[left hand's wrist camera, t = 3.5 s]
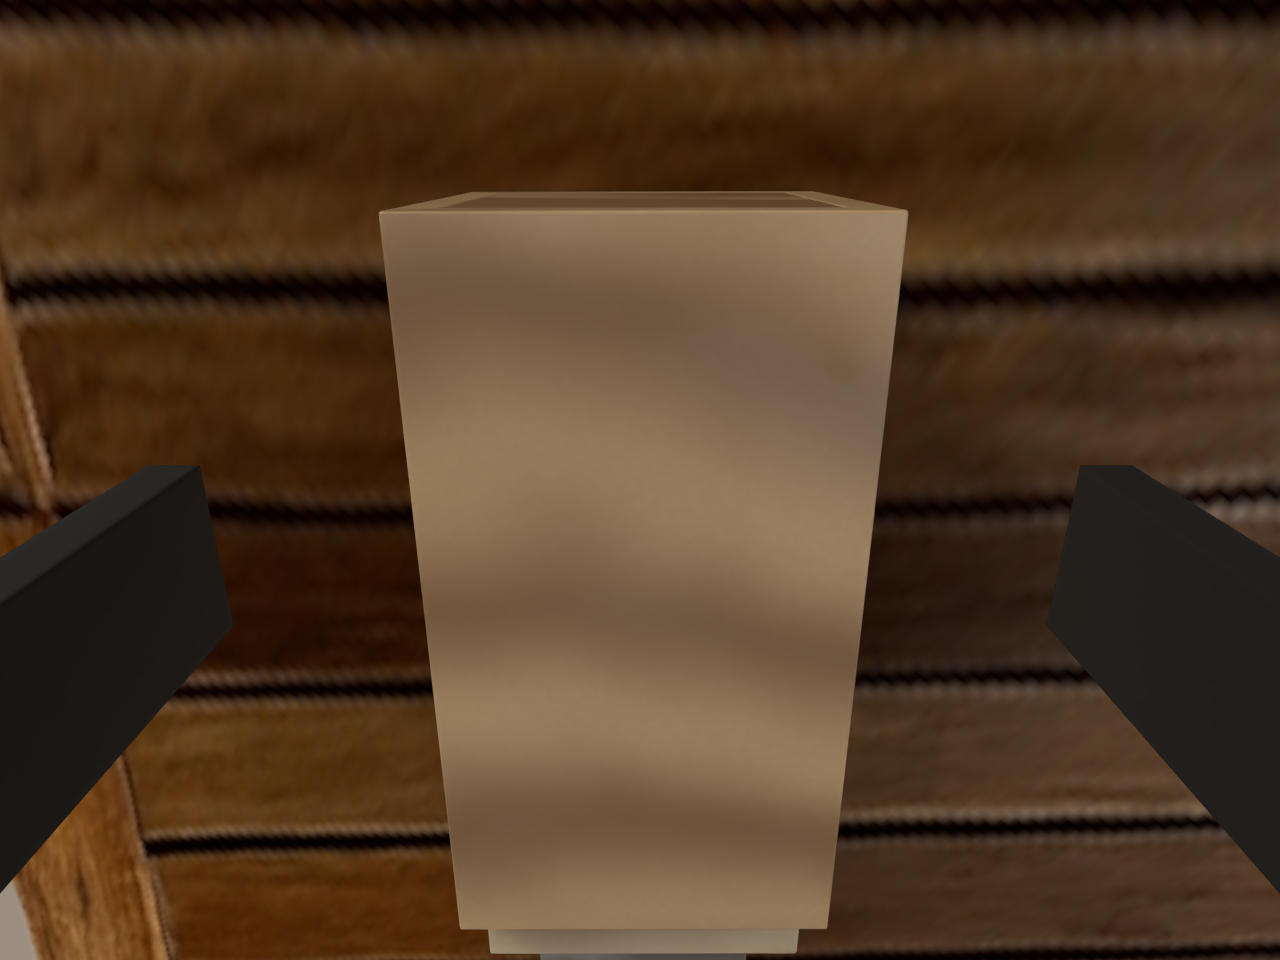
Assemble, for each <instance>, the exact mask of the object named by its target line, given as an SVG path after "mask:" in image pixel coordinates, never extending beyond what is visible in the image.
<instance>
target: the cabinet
mask: <svg viewBox="0 0 1280 960" xmlns="http://www.w3.org/2000/svg"><path fill="white" fill-rule="evenodd" d="M379 220H380V229H381V238H382V247H383V256H384V264H385V273H386V282H387V291H388V299H389V308H390V317H391V326H392V335H393V343H394V352H395V361H396V370H397V378H398V387H399V396H400V405H401V413H402V422H403V431H404V440H405V449H406V457H407V466H408V475H409V484H410V492H411V501H412V510H413V519H414V528H415V536H416V545H417V554H418V563H419V571H420V580H421V589H422V598H423V606H424V615H425V624H426V633H427V642H428V650H429V659H430V668H431V677H432V685H433V694H434V703H435V712H436V721H437V729H438V738H439V747H440V756H441V764H442V773H443V782H444V791H445V799H446V808H447V817H448V826H449V835H450V843H451V852H452V861H453V870H454V878H455V887H456V896H457V905H458V914H459V922H460V928H461V929H827V925H828V916H829V907H830V898H831V890H832V881H833V872H834V863H835V854H836V846H837V837H838V828H839V819H840V810H841V802H842V793H843V784H844V775H845V766H846V758H847V749H848V740H849V731H850V722H851V714H852V705H853V696H854V687H855V678H856V670H857V661H858V652H859V643H860V634H861V626H862V617H863V608H864V599H865V591H866V582H867V573H868V564H869V555H870V547H871V538H872V529H873V520H874V511H875V503H876V494H877V485H878V476H879V467H880V459H881V450H882V441H883V432H884V423H885V415H886V406H887V397H888V388H889V379H890V371H891V362H892V353H893V344H894V335H895V327H896V318H897V309H898V300H899V291H900V283H901V274H902V265H903V256H904V247H905V239H906V230H907V221H908V211H907V210H904V209H899V208H894V207H888V206H883V205H878V204H873V203H868V202H863V201H858V200H853V199H848V198H843V197H838V196H833V195H828V194H823V193H818V192H813V191H715V192H470V193H466V194H461V195H456V196H451V197H446V198H442V199H437V200H432V201H427V202H423V203H418V204H413V205H408V206H403V207H399V208H393V209H388V210H383V211H380V212H379Z"/></svg>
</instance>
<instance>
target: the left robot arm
mask: <svg viewBox="0 0 1280 960" xmlns="http://www.w3.org/2000/svg"><path fill="white" fill-rule="evenodd" d="M232 626H233V622H232V617H231V613H230V608H229V603H228V598H227V594H226V589H225V584H224V579H223V575H222V570H221V565H220V561H219V556H218V551H217V546H216V542H215V537H214V532H213V527H212V523H211V518H210V513H209V509H208V504H207V499H206V494H205V490H204V485H203V480H202V475H201V471H200V466H199V465H148V466H146V467H145V468H143V469H141V470H140V471H138V472H137V473H135V474H133V475H132V476H130V477H129V478H127V479H125V480H124V481H122V482H121V483H119V484H117V485H116V486H114V487H113V488H111V489H109V490H108V491H106V492H105V493H103V494H101V495H100V496H98V497H97V498H95V499H93V500H92V501H90V502H89V503H87V504H85V505H84V506H82V507H81V508H79V509H77V510H76V511H74V512H73V513H71V514H69V515H68V516H66V517H65V518H63V519H61V520H60V521H58V522H57V523H55V524H53V525H52V526H50V527H49V528H47V529H45V530H44V531H42V532H41V533H39V534H37V535H36V536H34V537H33V538H31V539H29V540H28V541H26V542H25V543H23V544H21V545H20V546H18V547H17V548H15V549H13V550H12V551H10V552H9V553H7V554H5V555H4V556H2V557H1V558H0V893H1V892H2V891H3V890H4V888H5V887H6V886H7V885H8V884H9V883H10V882H11V880H12V879H13V878H14V877H15V876H16V875H17V873H18V872H19V871H20V870H21V869H22V868H23V867H24V865H25V864H26V863H27V862H28V861H29V860H30V859H31V857H32V856H33V855H34V854H35V853H36V852H37V850H38V849H39V848H40V847H41V846H42V845H43V844H44V842H45V841H46V840H47V839H48V838H49V837H50V836H51V834H52V833H53V832H54V831H55V830H56V829H57V828H58V826H59V825H60V824H61V823H62V822H63V821H64V819H65V818H66V817H67V816H68V815H69V814H70V813H71V811H72V810H73V809H74V808H75V807H76V806H77V805H78V803H79V802H80V801H81V800H82V799H83V798H84V796H85V795H86V794H87V793H88V792H89V791H90V790H91V788H92V787H93V786H94V785H95V784H96V783H97V782H98V780H99V779H100V778H101V777H102V776H103V775H104V773H105V772H106V771H107V770H108V769H109V768H110V767H111V765H112V764H113V763H114V762H115V761H116V760H117V759H118V757H119V756H120V755H121V754H122V753H123V752H124V751H125V749H126V748H127V747H128V746H129V745H130V744H131V742H132V741H133V740H134V739H135V738H136V737H137V736H138V734H139V733H140V732H141V731H142V730H143V729H144V728H145V726H146V725H147V724H148V723H149V722H150V721H151V719H152V718H153V717H154V716H155V715H156V714H157V713H158V711H159V710H160V709H161V708H162V707H163V706H164V705H165V703H166V702H167V701H168V700H169V699H170V698H171V697H172V695H173V694H174V693H175V692H176V691H177V690H178V688H179V687H180V686H181V685H182V684H183V683H184V682H185V680H186V679H187V678H188V677H189V676H190V675H191V674H192V672H193V671H194V670H195V669H196V668H197V667H198V665H199V664H200V663H201V662H202V661H203V660H204V659H205V657H206V656H207V655H208V654H209V653H210V652H211V651H212V649H213V648H214V647H215V646H216V645H217V644H218V642H219V641H220V640H221V639H222V638H223V637H224V636H225V634H226V633H227V632H228V631H229V630H230V629H231V628H232ZM1047 626H1048V628H1049V629H1050V630H1051V631H1052V632H1053V633H1054V634H1055V636H1056V637H1057V638H1058V639H1059V640H1060V641H1061V642H1062V644H1063V645H1064V646H1065V647H1066V648H1067V649H1068V651H1069V652H1070V653H1071V654H1072V655H1073V656H1074V657H1075V659H1076V660H1077V661H1078V662H1079V663H1080V664H1081V665H1082V667H1083V668H1084V669H1085V670H1086V671H1087V672H1088V674H1089V675H1090V676H1091V677H1092V678H1093V679H1094V680H1095V682H1096V683H1097V684H1098V685H1099V686H1100V687H1101V688H1102V690H1103V691H1104V692H1105V693H1106V694H1107V695H1108V697H1109V698H1110V699H1111V700H1112V701H1113V702H1114V703H1115V705H1116V706H1117V707H1118V708H1119V709H1120V710H1121V711H1122V713H1123V714H1124V715H1125V716H1126V717H1127V718H1128V719H1129V721H1130V722H1131V723H1132V724H1133V725H1134V726H1135V728H1136V729H1137V730H1138V731H1139V732H1140V733H1141V734H1142V736H1143V737H1144V738H1145V739H1146V740H1147V741H1148V742H1149V744H1150V745H1151V746H1152V747H1153V748H1154V749H1155V751H1156V752H1157V753H1158V754H1159V755H1160V756H1161V757H1162V759H1163V760H1164V761H1165V762H1166V763H1167V764H1168V765H1169V767H1170V768H1171V769H1172V770H1173V771H1174V772H1175V773H1176V775H1177V776H1178V777H1179V778H1180V779H1181V780H1182V782H1183V783H1184V784H1185V785H1186V786H1187V787H1188V788H1189V790H1190V791H1191V792H1192V793H1193V794H1194V795H1195V796H1196V798H1197V799H1198V800H1199V801H1200V802H1201V803H1202V805H1203V806H1204V807H1205V808H1206V809H1207V810H1208V811H1209V813H1210V814H1211V815H1212V816H1213V817H1214V818H1215V819H1216V821H1217V822H1218V823H1219V824H1220V825H1221V826H1222V828H1223V829H1224V830H1225V831H1226V832H1227V833H1228V834H1229V836H1230V837H1231V838H1232V839H1233V840H1234V841H1235V842H1236V844H1237V845H1238V846H1239V847H1240V848H1241V849H1242V850H1243V852H1244V853H1245V854H1246V855H1247V856H1248V857H1249V859H1250V860H1251V861H1252V862H1253V863H1254V864H1255V865H1256V867H1257V868H1258V869H1259V870H1260V871H1261V872H1262V873H1263V875H1264V876H1265V877H1266V878H1267V879H1268V880H1269V882H1270V883H1271V884H1272V885H1273V886H1274V887H1275V888H1276V890H1277V891H1278V892H1279V893H1280V558H1279V557H1278V556H1276V555H1275V554H1273V553H1271V552H1270V551H1268V550H1267V549H1265V548H1263V547H1262V546H1260V545H1259V544H1257V543H1255V542H1254V541H1252V540H1251V539H1249V538H1247V537H1246V536H1244V535H1243V534H1241V533H1239V532H1238V531H1236V530H1235V529H1233V528H1231V527H1230V526H1228V525H1227V524H1225V523H1223V522H1222V521H1220V520H1219V519H1217V518H1215V517H1214V516H1212V515H1211V514H1209V513H1207V512H1206V511H1204V510H1203V509H1201V508H1199V507H1198V506H1196V505H1195V504H1193V503H1191V502H1190V501H1188V500H1187V499H1185V498H1183V497H1182V496H1180V495H1179V494H1177V493H1175V492H1174V491H1172V490H1171V489H1169V488H1167V487H1166V486H1164V485H1163V484H1161V483H1159V482H1158V481H1156V480H1155V479H1153V478H1151V477H1150V476H1148V475H1147V474H1145V473H1143V472H1142V471H1140V470H1139V469H1137V468H1135V467H1134V466H1132V465H1081V466H1080V471H1079V475H1078V480H1077V485H1076V490H1075V494H1074V499H1073V504H1072V509H1071V513H1070V518H1069V523H1068V527H1067V532H1066V537H1065V542H1064V546H1063V551H1062V556H1061V561H1060V565H1059V570H1058V575H1057V579H1056V584H1055V589H1054V594H1053V598H1052V603H1051V608H1050V613H1049V617H1048V622H1047Z"/></svg>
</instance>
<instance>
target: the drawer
mask: <svg viewBox="0 0 1280 960" xmlns="http://www.w3.org/2000/svg"><path fill="white" fill-rule="evenodd" d="M488 933H489V943H490V952H491V953H492V954H540V957H541V960H746V953H796V952H797V943H798V933H799V929H488Z"/></svg>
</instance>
